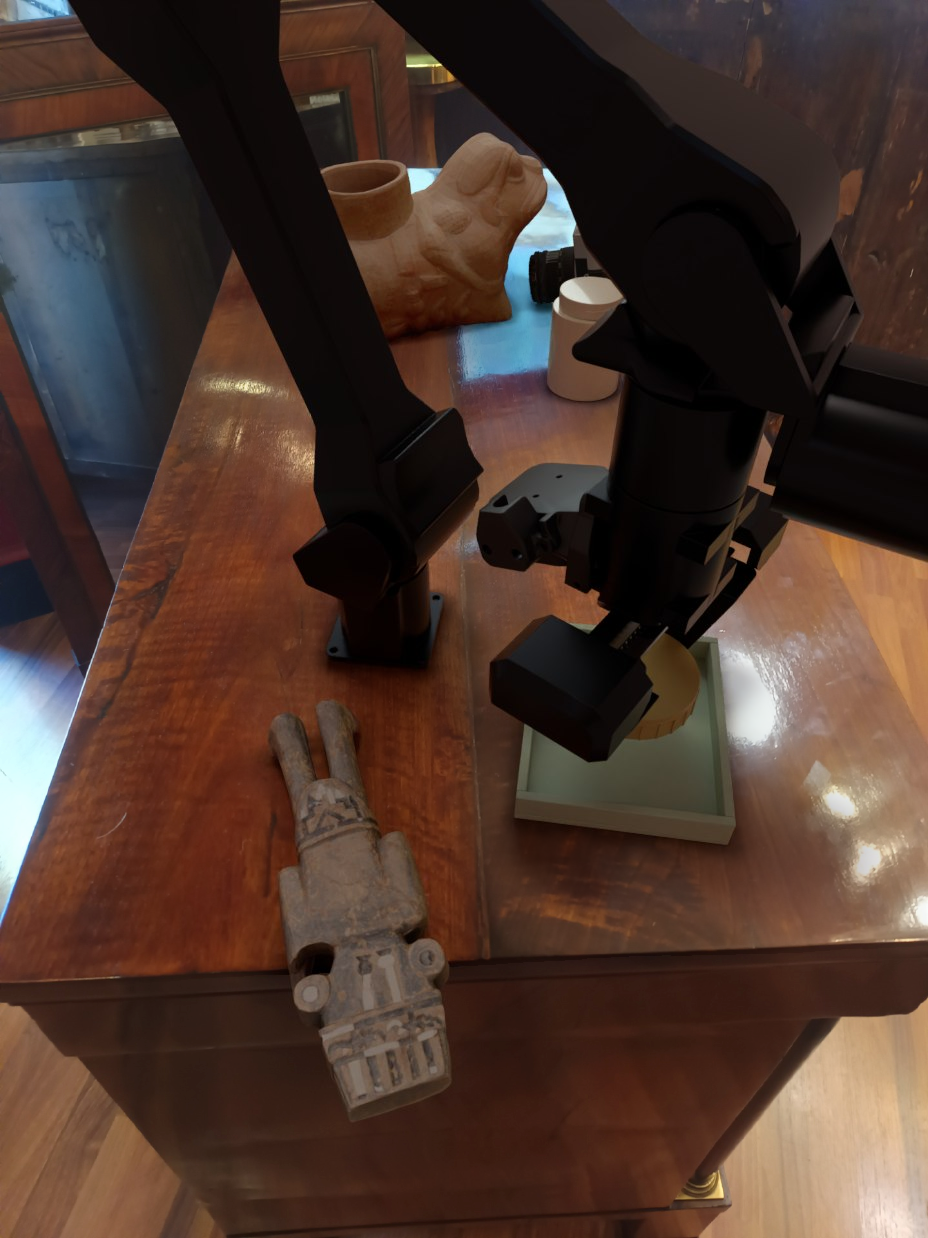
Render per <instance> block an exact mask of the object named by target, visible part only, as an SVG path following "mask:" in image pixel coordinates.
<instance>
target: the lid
mask: <svg viewBox="0 0 928 1238" xmlns="http://www.w3.org/2000/svg"><path fill="white" fill-rule="evenodd" d="M635 633H636V632H635ZM641 660H642V661H643V663H644V664H645V665H646V668H647V672H646V673H647V675H648V676H649V678H650V680H651V681H652V683H653V684H654V685H653V689H652V692H654V693H656V694H657V695H659V699H658V700H657V701H656V702H655V704H654V705H653V706H652V707H651V709H650V710H649V711H648V712H647V714H646V715H645V716H644V717H643V719H642V720H641V721H640V722H639V724H638V725H637V726H636V727H635V729H634V730H633V731H632V732H631V733H630V734H629V735H627V736H626V738H625V739H632V740H638V741H641V740H649V739H658V738H659V737H662V736H665V735H668V734H672V733H673V731H675V730H677V729H678V728H679V727H681V726H684V724H685V721H686V720H687V719H688V717H689V716H690V715H692V713H693V710H694V707H695V704H696V700H697V697H698V694H699V691H700V689H699V686H700V673H699V669H698V666H697V663H696V661H695V659H694V658H693V656H692V655H691V653H690V652H689V651H688V650H687V649H686V647H685V646H683V645H682V644H681V643H680V642H679V641H677V640H676V639H675V638H673V637H671V636H670V635H668V634H666V633H664V634H663V635H662V636H661V637H660V638H659V639H658V641H657V642H656V643H655V644H654V645H653V646H652V648H651V649H650V650H649V651H648V652H647V653H646V655H645V656H644V657H643V658H642V659H641Z"/></svg>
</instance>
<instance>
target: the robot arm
mask: <svg viewBox="0 0 928 1238" xmlns="http://www.w3.org/2000/svg"><path fill="white" fill-rule="evenodd" d="M372 1H373V2H374V3H375V4H376V5H377V6H379V8H381V9H382V11H384V12H385V13H386V14H387V15H388V16H389V17H390V18H391V19H392V20H394V22H396V24H398V25H399V26H400V27H401V29H403V30H404V31H405V32H406V33H407V34H408V35H409V36H410V37H411V38H413V40H414V41H415V42H417V43H418V44H419V46H421V47H422V48H423V49H424V50H425V51H426V52H427V53H428V54H429V55H430V56H431V57H432V58H433V59H434V60H435V61H436V62H438V64H440V66H442V67H443V68H444V69H445V70H446V71H447V72H448V73H449V74H450V75H451V76H453V77H454V79H456V80H457V81H458V82H459V83H460V84H461V85H462V86H463V87H464V88H465V89H466V90H467V91H468V92H469V93H470V94H472V95H473V96H474V97H475V98H476V99H477V100H478V101H479V102H480V103H481V105H483V106H484V107H485V108H486V109H488V111H490V113H492V114H493V115H494V116H495V117H496V118H497V119H498V120H499V121H500V122H501V123H502V124H503V125H504V126H506V128H507V129H509V131H511V132H512V133H513V134H514V135H515V136H516V137H517V138H518V139H519V140H521V142H522V143H523V144H524V145H526V147H527V148H529V149H530V150H531V151H532V152H533V153H534V154H535V155H536V156H537V157H538V158H539V159H540V162H542V164H543V165H544V166H545V167H546V169H547V170H548V172H550V174H551V175H552V177H553V178H554V179H555V180H556V182H557V184H558V185H559V186H560V188H561V189H562V191H563V194H564V197H565V199H566V201H567V204H568V206H569V209H570V212H571V214H572V217H573V220H574V222H575V226H576V225H577V227H578V230H579V232H580V235H581V237H582V240H583V243H584V245H585V247H586V249H587V250H588V252H589V253H590V254H591V256H592V257H593V258H594V259H595V261H596V262H597V263H598V265H599V266H600V267H601V269H602V270H603V271H604V273H605V274H606V275H607V276H608V278H609V279H610V280H611V282H612V283H613V284H614V286H615V287H616V288H617V289H618V291H619V292H620V293H621V295H622V296H623V297H624V299H623V300H622V301H621V302H620V303H619V304H618V305H617V307H615V308H613V309H610V310H609V311H607V312H606V313H605V314H604V315H603V316H602V317H601V318H600V319H599V320H598V321H597V322H596V323H595V324H594V325H593V326H592V327H591V328H590V329H589V330H588V331H587V332H586V333H585V334H584V335H583V336H582V337H580V338H579V339H578V340H577V341H576V342H575V343H574V345H573V346H572V355H573V357H574V358H575V359H576V360H577V361H580V362H584V363H587V364H591V365H595V366H598V367H602V368H606V369H609V370H613V371H617V372H619V374H622V381H621V387H620V395H619V400H618V401H619V402H618V408H617V413H616V414H617V416H616V421H615V426H614V427H615V428H614V434H613V440H612V448H611V454H610V460H609V466H608V468H607V467H605V466H602V465H593V464H581V463H580V464H579V463H577V464H576V463H566V462H565V463H562V462H543V463H539V464H536V465H532V466H530V467H529V468H527V469H526V470H524V471H523V472H522V473H521V474H519V475H518V476H516V478H514V479H513V480H512V481H510V482H509V483H508V484H507V485H505V486H504V487H503V488H502V489H500V490H499V491H498V492H497V493H496V494H494V495H492V497H491V498H490V499H489V501H488V503H487V504H485V505H484V506H483V507H481V508H480V509H479V510H478V516H477V517H478V518H477V524H476V530H475V537H476V542H477V546H478V549H479V552H480V556H481V558H482V560H484V561H485V562H486V563H487V565H489V566H490V567H492V568H498V569H504V570H509V571H516V572H520V573H525V572H527V571H528V570H529V569H530V568H531V567H533V565H535V564H540V565H546V566H552V567H559V568H560V567H563V568H564V567H565V574H564V575H565V576H564V582H563V583H564V584H565V585H567V586H569V587H571V588H573V589H574V590H576V591H579V592H580V593H582V594H585V595H587V594H589V593H590V591H591V590H593V591H595V592H597V593H598V596H597V600H596V604H597V606H598V607H599V608H601V609H603V610H605V611H607V612H608V613H607V614H606V615H605V616H604V617H603V618H602V619H601V620H600V621H599V622H598V624H596V625H597V626H596V627H595V628H594V629H593V630H592V631H591V632H590V633H589V634H588V633H586V632H584V631H582V630H580V629H578V628H576V627H575V626H573V625H571V624H569V623H567V622H568V621H565V620H563V619H562V618H559V617H557V616H555V615H554V614H549V615H545V616H542V617H538V618H534V619H532V621H531V622H530V623H529V624H527V625H526V627H524V629H522V630H521V631H520V632H519V633H518V635H516V636H515V637H514V638H513V639H512V640H511V641H510V642H509V643H508V644H507V645H506V646H505V647H504V648H503V649H502V650H501V651H500V652H499V653H498V654H496V656H495V657H494V658H493V659H492V660H491V661H490V662H489V666H488V667H489V669H488V670H489V671H488V694H489V699H490V704H491V705H493V706H494V707H496V708H498V709H499V710H501V711H503V712H504V713H506V714H507V715H509V716H511V717H512V718H514V719H515V720H517V721H519V722H520V723H522V724H523V725H524V724H526V725H527V726H529V727H531V728H532V729H534V730H536V731H537V732H539V733H540V734H542V735H544V736H545V737H547V738H549V739H550V740H552V741H554V742H555V743H557V744H558V745H560V746H562V747H563V748H565V749H567V750H568V751H570V752H572V753H573V754H575V755H576V756H578V757H580V758H581V759H583V760H585V761H586V762H588V763H591V762H601V761H607V760H608V759H609V758H610V756H611V755H612V754H613V753H614V751H615V750H616V749H617V748H618V746H619V745H620V744H621V743H622V741H623V740H624V739H625V738H626V736H627V735H629V734H630V733H631V732H632V731H633V730H634V729H635V727H636V726H637V725H638V724H639V722H640V721H641V720H642V719H643V717H644V716H645V715H646V714H647V712H648V711H649V710H650V709H651V707H652V706H653V705H654V704H655V702H656V701H657V700H658V699H659V695H657V694H656V693H654V692H652V689H653V685H654V684H653V683H652V681H651V680H650V678H649V676H648V675H647V673H646V672H647V668H646V665H645V664H644V663H643V661H642V660H641V659H642V658H643V657H644V656H645V655H646V653H647V652H648V651H649V650H650V649H651V648H652V646H653V645H654V644H655V643H656V642H657V641H658V639H659V638H660V637H661V636H662V635H663V634H664V633H666V634H668V635H670V636H671V637H673V638H675V639H676V640H677V641H679V642H680V643H681V644H682V645H683V646H685V647H686V649H687V650H688V649H689V648H690V647H691V646H692V645H693V644H694V643H695V642H696V641H697V640H698V639H699V638H700V637H701V636H704V634H705V633H706V632H708V630H709V629H710V628H711V627H713V626H714V624H716V623H717V622H718V621H719V620H720V619H721V618H722V617H723V616H724V615H725V613H727V612H728V611H729V610H730V609H731V608H732V607H733V605H735V604H736V603H737V601H738V600H739V599H740V598H741V596H742V595H743V594H744V593H745V591H746V590H747V589H748V588H749V586H750V585H751V584H752V583H753V581H754V580H755V579H756V577H757V571H761V570H762V568H763V567H764V566H765V565H766V563H767V562H768V561H769V560H770V558H771V557H773V555H774V553H775V552H776V551H777V550H778V548H779V547H781V543H782V541H783V538H784V535H785V532H786V530H787V526H788V524H789V521H793V522H796V523H799V524H802V525H806V526H809V527H811V528H814V529H818V530H821V531H825V532H828V533H830V534H831V533H832V534H833V535H838V536H841V537H843V538H847V539H850V540H853V541H857V542H860V543H862V544H866V545H869V546H873V547H876V548H879V549H882V550H886V551H889V552H891V553H895V554H898V555H901V556H905V557H908V558H910V559H914V560H916V561H917V560H918V561H921V562H924V563H927V564H928V359H927V358H924V357H918V356H915V355H910V354H906V353H901V352H897V351H893V350H889V349H884V348H881V347H876V346H871V345H867V344H864V343H858V342H855V341H854V338H855V335H856V333H857V332H858V330H859V327H860V325H861V324H862V322H863V320H864V318H865V311H864V308H863V306H862V302H861V300H860V297H859V294H858V292H857V290H856V287H855V284H854V281H853V279H852V277H851V274H850V271H849V268H848V266H847V264H846V261H845V258H844V256H843V253H842V250H841V248H840V245H839V242H838V240H837V237H836V234H835V231H834V228H835V227H836V223H837V220H838V218H839V212H840V197H841V196H840V194H841V183H840V182H841V180H842V179H841V178H842V174H841V171H840V169H839V165H838V162H837V159H836V156H835V155H834V153H833V152H832V150H831V148H830V147H829V146H828V144H827V143H826V141H825V140H824V138H823V137H822V136H821V135H820V134H819V133H817V132H816V131H815V130H814V129H813V128H811V126H809V125H807V124H806V123H804V122H803V121H801V120H800V119H798V118H796V117H795V116H793V114H791V113H789V112H787V111H786V110H784V109H782V108H781V107H779V106H778V105H776V104H774V103H773V102H772V101H770V100H768V99H767V98H765V97H764V96H762V95H761V94H759V93H757V92H756V91H754V90H753V89H751V88H749V87H748V86H746V85H745V84H743V83H741V82H740V81H738V80H736V79H734V78H733V77H730V76H729V75H725V74H722V73H720V72H718V71H715V70H713V69H710V68H708V67H706V66H703V65H700V64H698V63H696V62H693V61H691V60H688V59H686V58H683V57H680V56H678V55H676V54H674V53H672V52H670V51H668V50H667V49H665V47H662V46H661V45H659V44H658V43H656V42H654V41H653V40H651V39H649V38H648V37H646V36H645V35H643V33H641V32H640V31H639V30H637V29H636V28H635V26H633V25H632V24H631V22H629V21H628V20H627V19H626V17H624V15H622V14H621V13H620V12H619V11H618V10H617V9H616V8H615V7H614V6H613V5H612V4H611V3H610V2H609V1H608V0H372ZM67 2H68V4H69V5H70V7H71V9H72V10H73V12H74V13H75V15H76V17H77V18H78V20H79V21H80V23H81V25H82V27H83V29H84V30H85V32H86V33H87V36H88V37H89V39H90V40H91V41H92V43H93V44H94V46H95V47H96V48H97V49H98V51H100V52H101V53H102V54H103V55H105V56H106V57H107V58H108V59H109V60H110V61H111V62H112V63H113V64H114V65H116V66H117V67H118V68H119V69H120V70H121V71H123V73H125V75H127V76H128V77H129V78H131V79H132V80H133V82H135V83H136V84H137V85H139V86H140V88H142V90H144V91H145V92H146V93H147V94H148V95H150V96H151V97H152V99H154V100H155V101H156V102H158V103H159V105H160V106H162V107H163V108H164V109H165V110H166V112H167V114H168V115H169V117H170V118H171V121H172V122H173V124H174V126H175V128H176V130H177V133H178V135H179V137H180V138H181V141H182V143H183V145H184V147H185V149H186V152H187V154H188V156H189V158H190V161H191V162H192V165H193V167H194V169H195V171H196V173H197V175H198V178H199V180H200V182H201V184H202V186H203V188H204V190H205V192H206V194H207V196H208V199H209V200H210V203H211V205H212V208H213V210H214V212H215V214H216V216H217V218H218V221H219V223H220V224H221V226H222V229H223V231H224V233H225V235H226V238H227V240H228V241H229V243H230V246H231V248H232V250H233V252H234V254H235V256H236V258H237V260H238V263H239V265H240V267H241V269H242V272H243V274H244V276H245V278H246V280H247V283H248V284H249V287H250V289H251V291H252V293H253V295H254V297H255V300H256V301H257V304H258V305H259V309H260V310H261V312H262V314H263V316H264V319H265V321H266V323H267V325H268V327H269V330H270V332H271V333H272V336H273V338H274V340H275V342H276V344H277V346H278V349H279V350H280V353H281V355H282V357H283V359H284V361H285V364H286V366H287V368H288V370H289V372H290V374H291V377H292V378H293V381H294V383H295V385H296V387H297V389H298V391H299V393H300V396H301V398H302V400H303V402H304V405H305V406H306V409H307V411H308V413H309V415H310V417H311V419H312V422H313V426H314V431H315V433H314V458H313V460H314V461H313V478H312V479H313V482H312V489H313V494H314V496H315V499H316V502H317V505H318V508H319V511H320V513H321V517H322V520H323V522H324V526H323V527H322V528H320V529H319V530H318V531H317V532H316V533H315V534H314V535H313V536H312V537H310V538H309V539H308V540H307V541H306V542H305V543H304V544H302V546H301V547H300V548H298V549H297V550H296V551H295V552H294V553H293V554H292V559H293V562H294V564H295V565H296V568H297V569H298V572H299V574H300V576H301V578H302V580H303V581H304V583H305V585H306V586H308V587H310V588H311V589H314V590H316V591H319V592H322V593H324V594H326V595H329V596H331V597H333V598H334V599H335V598H336V600H337V607H338V614H337V617H336V620H335V623H334V625H333V628H332V631H331V634H330V636H329V640H328V642H327V645H326V647H325V656H326V658H327V659H328V660H330V661H333V662H334V661H335V662H345V663H351V664H352V663H353V664H361V665H362V664H363V665H370V666H371V665H373V666H378V667H387V668H398V669H406V670H414V671H425V670H427V669H428V668H429V667H430V664H431V659H432V655H433V651H434V646H435V643H436V638H437V633H438V630H439V626H440V622H441V618H442V613H443V609H444V604H445V597H444V595H443V594H442V593H440V592H434V591H433V592H432V591H431V587H430V586H431V585H430V584H431V583H430V563H429V561H430V560H431V559H432V557H433V556H434V555H435V554H436V553H437V552H438V551H439V550H440V549H441V548H442V546H444V545H445V543H446V542H447V541H448V540H449V539H450V538H451V537H452V536H453V535H454V533H455V532H457V530H458V529H459V528H460V527H461V526H462V525H463V524H464V523H465V522H466V520H468V518H469V517H470V516H471V515H472V513H473V511H474V509H475V507H476V505H477V503H478V502H479V501H480V486H479V480H478V478H480V476H481V475H482V474H483V473H484V471H485V469H484V467H483V466H482V464H481V463H480V462H479V460H478V459H477V458H476V457H475V455H474V452H473V451H472V448H471V446H470V444H469V439H468V437H467V432H466V426H465V423H464V418H463V417H462V415H461V413H460V412H459V410H458V409H457V408H456V407H454V406H451V407H447V408H445V409H442V410H439V411H436V410H435V409H434V408H432V407H431V406H430V405H429V404H427V403H426V402H424V400H422V399H421V397H419V396H418V395H416V394H415V392H412V390H410V389H409V388H408V387H407V385H406V383H405V382H404V379H403V378H402V375H401V372H400V369H399V367H398V365H397V362H396V360H395V359H396V358H395V357H394V355H393V352H392V350H391V347H390V344H389V341H387V339H386V336H385V334H384V331H383V329H382V326H381V324H380V321H379V319H378V316H377V314H376V311H375V308H374V306H373V303H372V301H371V298H370V296H369V293H368V291H367V288H366V286H365V283H364V280H363V278H362V275H361V273H360V270H359V268H358V265H357V263H356V260H355V258H354V255H353V252H352V250H351V247H350V245H349V242H348V240H347V237H346V235H345V232H344V230H343V227H342V224H341V222H340V219H339V217H338V214H337V212H336V209H335V207H334V204H333V202H332V199H331V196H330V194H329V191H328V189H327V186H326V184H325V181H324V179H323V176H322V174H321V169H320V166H319V163H318V161H317V158H316V156H315V154H314V151H313V148H312V146H311V143H310V140H309V138H308V136H307V133H306V130H305V127H304V125H303V123H302V121H301V117H300V115H299V113H298V110H297V108H296V105H295V103H294V100H293V97H292V95H291V93H290V89H289V87H288V85H287V82H286V80H285V79H286V78H285V77H284V74H283V69H282V66H281V63H280V44H281V43H280V38H281V7H282V5H281V4H282V0H67ZM784 306H785V307H786V308H788V309H789V311H790V312H791V314H789V317H788V318H787V319H786V317H785V315H784V312H783V308H784ZM771 413H773V414H777V415H782V416H783V417H782V421H781V423H780V427H779V430H778V432H777V435H776V438H775V440H774V443H773V446H772V449H771V451H770V454H769V458H768V460H767V464H766V468H765V471H764V474H763V475H764V476H763V482H762V483H763V484H765V485H768V486H771V487H774V490H773V493H772V494H770V493H766V492H764V491H762V490H761V489H759V488H757V487H754V486H752V485H749V483H750V479H751V476H752V472H753V470H754V465H755V463H756V459H757V456H758V452H759V449H760V447H761V443H762V439H763V436H764V434H765V430H766V426H767V422H768V420H769V416H770V414H771ZM731 542H734V543H737V544H739V545H741V546H743V547H746V548H748V549H749V553H748V556H747V559H746V562H744V561H742V560H740V559H737V558H735V557H734V555H735V553H736V549H735V548H734V547H732V546H731ZM635 632H636V633H635Z"/></svg>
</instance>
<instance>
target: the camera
mask: <svg viewBox="0 0 928 1238" xmlns="http://www.w3.org/2000/svg"><path fill="white" fill-rule="evenodd" d="M572 243H573V245H570V246H564V247H560V249H553V250H548V249H543V250H542V251H539V250H536V251H534V253H533V254H531V255H530V256H529V259H528V286H529V294H530V297H531V300H532V302H533V303H536V304H537V305H542V304H545V305H548V304H549V305H550V304H553V302H554V301H555V300H556V299H557V298H558V297H559V294H560V287H561V285H562V284H563V283H564V282H566V281H568V280H570V279H574V278H578V277H600V278H605V279H609V278H608V276H607V275H606V274H605V273H604V271H603V270H602V269H601V267H600V266H599V265H598V263H597V262H596V261H595V259H594V258H593V257H592V256H591V254H590V253H589V252H588V250H587V249H586V247H585V245H584V243H583V240H582V237H581V235H580V232H579V230H578V227H577V225H576V224H575V227H574V229H573V233H572ZM609 280H610V279H609Z"/></svg>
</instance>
